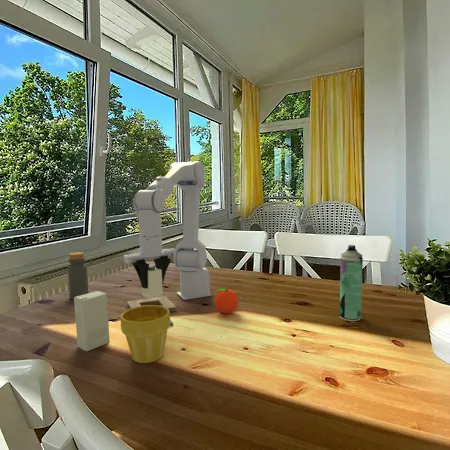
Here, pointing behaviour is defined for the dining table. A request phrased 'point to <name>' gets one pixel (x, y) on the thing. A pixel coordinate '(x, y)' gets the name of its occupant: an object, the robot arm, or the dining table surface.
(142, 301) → the holder
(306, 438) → the dining table surface
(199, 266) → the robot arm
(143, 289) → the plug
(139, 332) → the plant pot
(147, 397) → the dining table surface
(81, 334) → the skincare box
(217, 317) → the dining table surface
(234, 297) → the clementine
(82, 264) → the bottle
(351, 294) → the spray can
